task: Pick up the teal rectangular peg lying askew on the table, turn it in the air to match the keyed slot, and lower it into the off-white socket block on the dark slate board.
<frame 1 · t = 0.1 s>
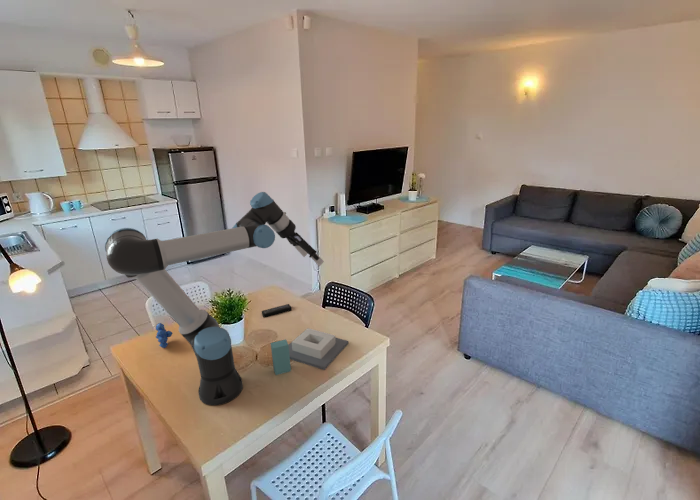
hand: (313, 259, 157), 36 cm above the table, tool tilted 35°, fingers open, 13 cm apart
socket block: (314, 349, 157), on the table
grapes: (167, 347, 162), on the table
teal peg: (282, 370, 144), on the table
multiport hub: (277, 313, 188), on the table
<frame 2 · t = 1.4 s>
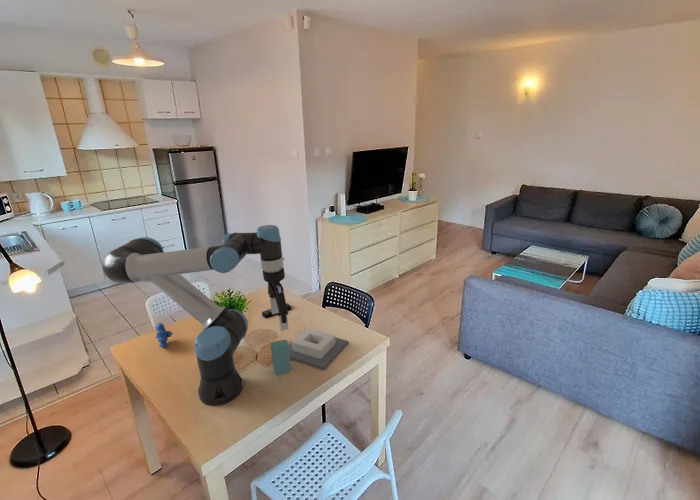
hand: (279, 321, 138), 21 cm above the table, tool pointing down, fingers open, 13 cm apart
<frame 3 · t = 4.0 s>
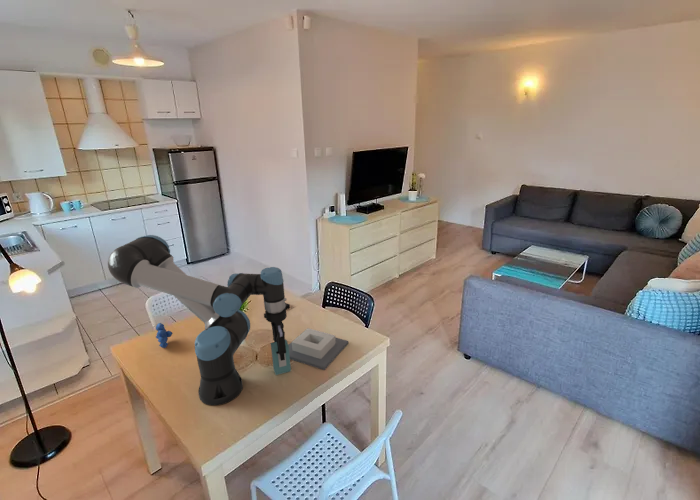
hand: (281, 362, 143), 4 cm above the table, tool pointing down, fingers closed on teal peg, 4 cm apart
teal peg: (282, 370, 144), on the table, touching gripper
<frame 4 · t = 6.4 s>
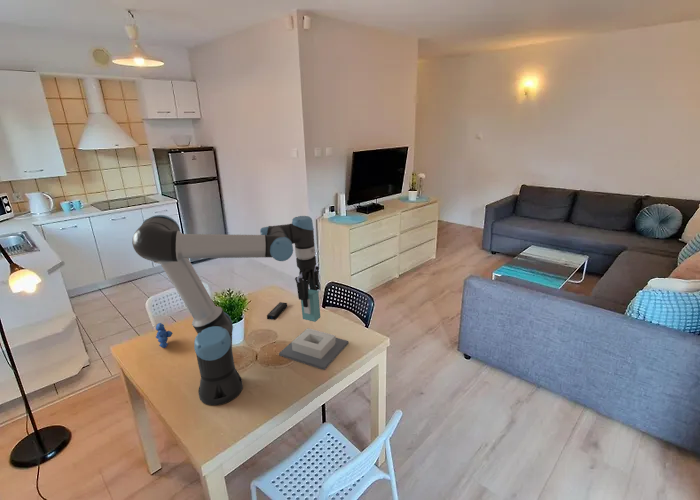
hand: (310, 310, 149), 19 cm above the table, tool pointing down, fingers closed on teal peg, 4 cm apart
teal peg: (311, 318, 151), point 16 cm above the table, touching gripper
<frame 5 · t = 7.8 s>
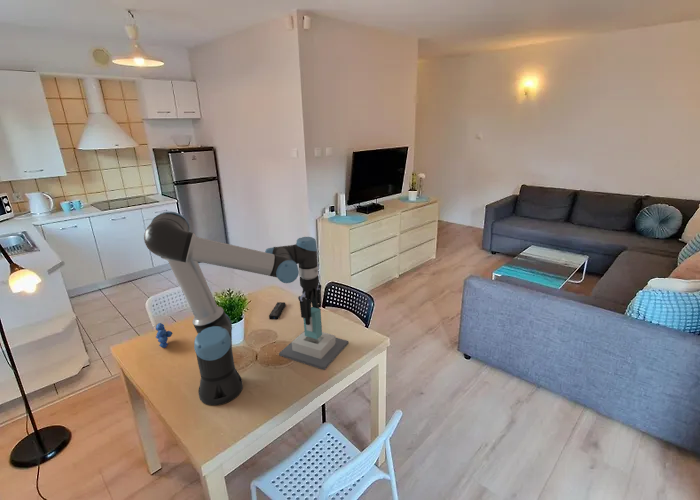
hand: (312, 327, 153), 11 cm above the table, tool pointing down, fingers closed on teal peg, 4 cm apart
teal peg: (313, 335, 154), point 7 cm above the table, touching gripper
when the fingers open (6 cm above the table, at t = 9.0 s): teal peg drops 1 cm, resting on socket block.
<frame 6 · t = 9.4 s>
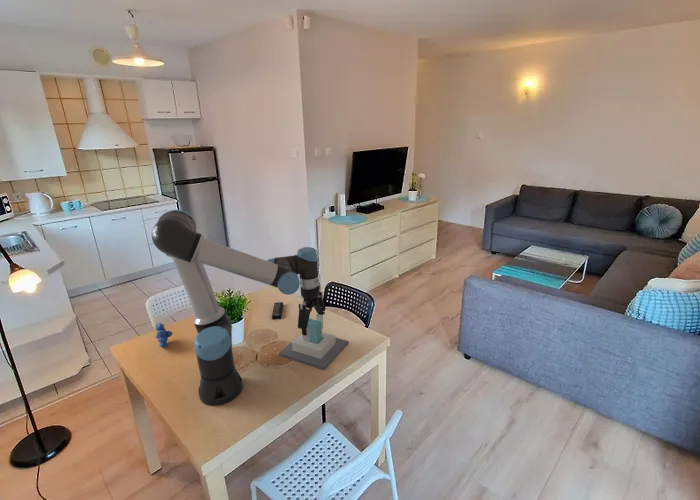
hand: (313, 334, 154), 7 cm above the table, tool pointing down, fingers open, 10 cm apart
teal peg: (314, 347, 156), point 1 cm above the table, touching socket block
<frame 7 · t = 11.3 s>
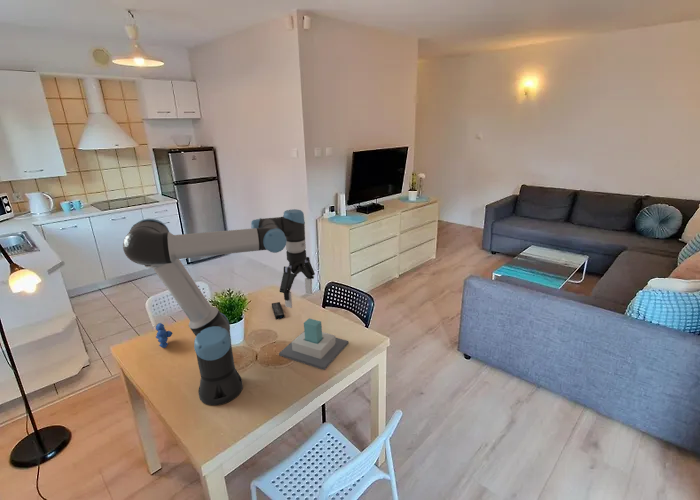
hand: (299, 299, 149), 24 cm above the table, tool pointing down, fingers open, 13 cm apart
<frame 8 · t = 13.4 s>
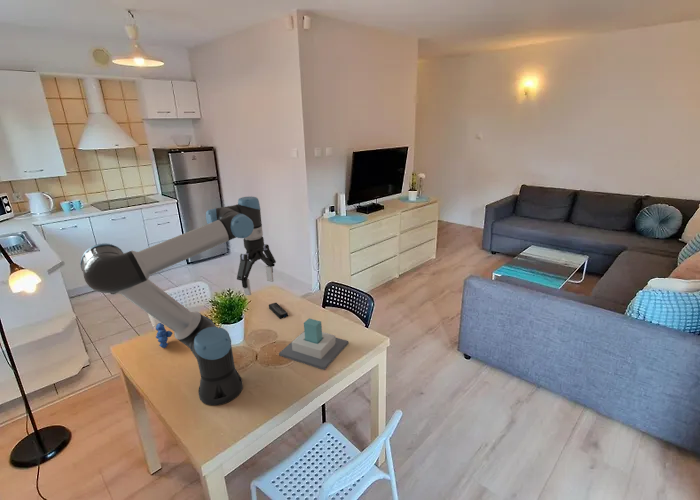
hand: (259, 287, 149), 29 cm above the table, tool pointing down, fingers open, 13 cm apart
at the end: teal peg 0.1 cm off-centre on the socket block, point 1.2 cm above the socket block's base; teal peg tilted 0°; the gripper is holding nothing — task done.
